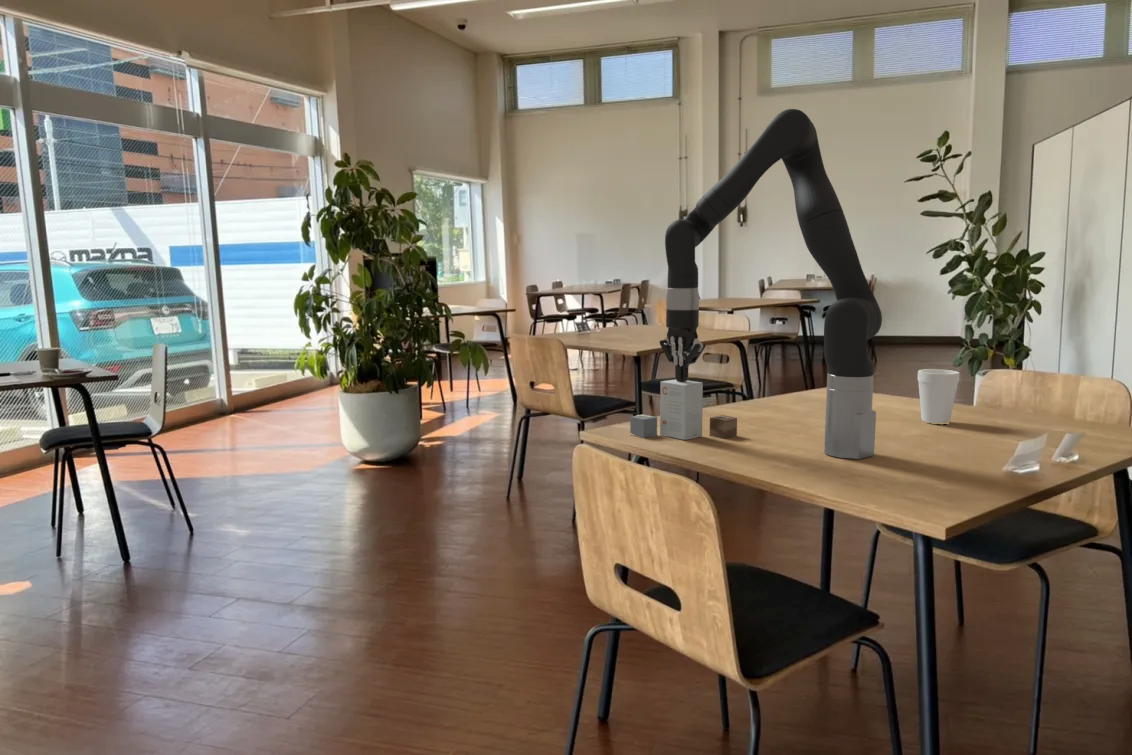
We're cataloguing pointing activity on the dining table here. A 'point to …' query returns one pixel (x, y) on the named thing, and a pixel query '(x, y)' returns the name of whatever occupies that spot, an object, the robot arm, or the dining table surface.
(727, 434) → the walnut block one
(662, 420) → the small box
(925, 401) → the foam cup
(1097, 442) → the dining table surface
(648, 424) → the slate block seven
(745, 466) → the dining table surface
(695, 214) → the robot arm
